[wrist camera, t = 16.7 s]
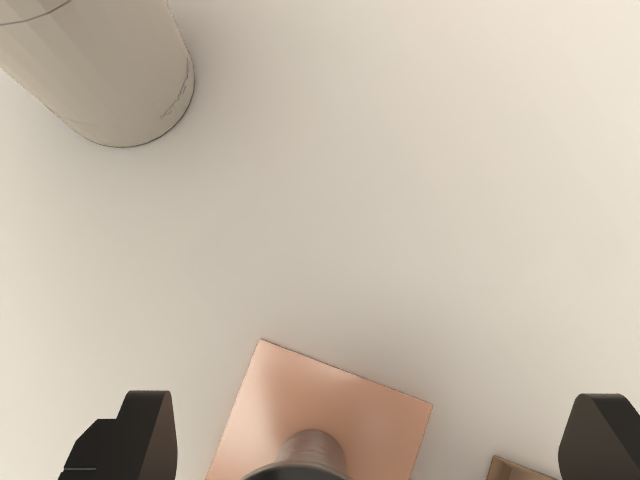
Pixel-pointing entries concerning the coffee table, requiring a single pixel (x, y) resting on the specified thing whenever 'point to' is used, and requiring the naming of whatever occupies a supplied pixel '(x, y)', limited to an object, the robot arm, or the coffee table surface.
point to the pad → (318, 417)
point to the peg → (306, 459)
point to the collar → (512, 471)
